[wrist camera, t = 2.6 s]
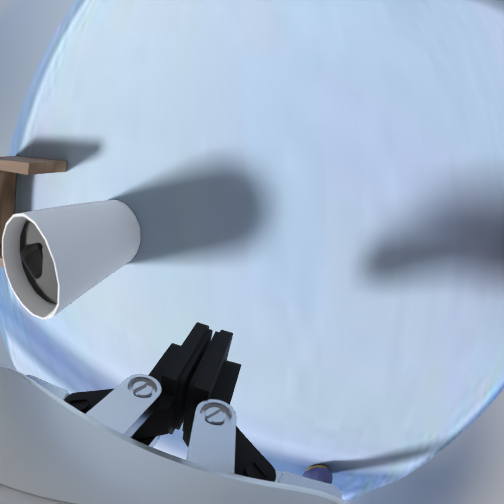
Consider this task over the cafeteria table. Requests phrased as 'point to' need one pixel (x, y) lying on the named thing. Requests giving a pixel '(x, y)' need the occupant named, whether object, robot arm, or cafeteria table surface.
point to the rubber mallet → (319, 473)
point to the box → (4, 182)
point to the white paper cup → (66, 251)
